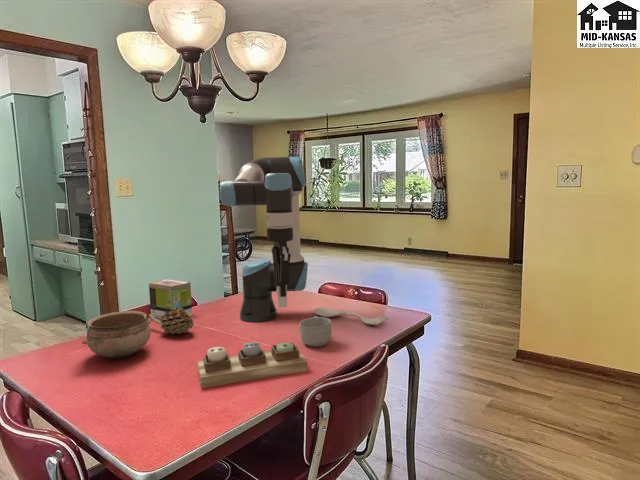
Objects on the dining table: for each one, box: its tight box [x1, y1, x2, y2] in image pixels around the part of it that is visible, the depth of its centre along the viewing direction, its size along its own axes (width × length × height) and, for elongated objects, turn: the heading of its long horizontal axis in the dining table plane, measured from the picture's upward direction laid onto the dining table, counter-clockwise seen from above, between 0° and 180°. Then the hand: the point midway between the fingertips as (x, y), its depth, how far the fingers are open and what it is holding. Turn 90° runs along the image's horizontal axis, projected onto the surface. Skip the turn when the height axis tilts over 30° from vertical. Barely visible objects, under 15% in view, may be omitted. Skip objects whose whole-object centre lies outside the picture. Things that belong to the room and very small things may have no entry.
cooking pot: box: [81, 310, 152, 360], centre depth 142 cm, size 25×19×12 cm
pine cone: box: [148, 308, 195, 335], centre depth 163 cm, size 22×10×10 cm, turn 67°
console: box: [197, 342, 308, 389], centre depth 128 cm, size 12×30×6 cm, turn 109°
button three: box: [242, 341, 261, 358], centre depth 128 cm, size 5×5×3 cm
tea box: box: [148, 278, 193, 319], centre depth 184 cm, size 15×10×15 cm, turn 58°
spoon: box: [313, 307, 390, 326], centre depth 175 cm, size 9×32×4 cm, turn 54°
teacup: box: [298, 315, 332, 348], centre depth 150 cm, size 14×11×8 cm
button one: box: [276, 342, 293, 353], centre depth 131 cm, size 5×5×3 cm
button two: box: [206, 346, 227, 363], centre depth 125 cm, size 5×5×3 cm
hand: (282, 306), depth 129 cm, fingers closed
